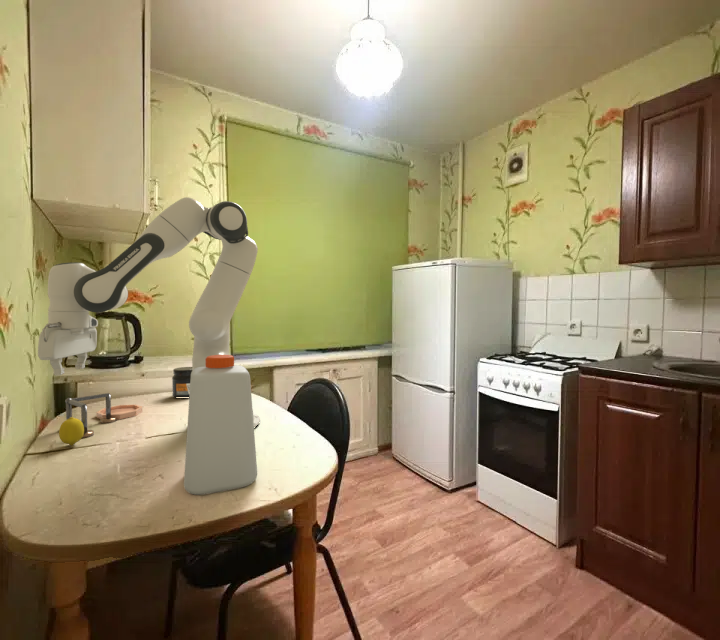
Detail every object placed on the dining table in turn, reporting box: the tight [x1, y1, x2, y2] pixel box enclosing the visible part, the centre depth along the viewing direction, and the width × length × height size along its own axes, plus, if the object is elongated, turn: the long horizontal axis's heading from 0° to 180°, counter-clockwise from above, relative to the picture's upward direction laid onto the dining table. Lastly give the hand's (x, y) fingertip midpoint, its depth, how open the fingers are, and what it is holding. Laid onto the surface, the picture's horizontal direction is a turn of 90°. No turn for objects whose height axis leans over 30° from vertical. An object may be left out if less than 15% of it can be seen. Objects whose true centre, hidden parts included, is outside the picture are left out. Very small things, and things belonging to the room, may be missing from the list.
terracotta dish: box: [95, 403, 143, 421], centre depth 133 cm, size 13×13×2 cm
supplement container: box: [171, 366, 192, 398], centre depth 160 cm, size 10×10×12 cm
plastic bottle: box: [183, 354, 258, 496], centre depth 85 cm, size 15×15×28 cm
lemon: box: [58, 416, 84, 447], centre depth 104 cm, size 6×6×8 cm
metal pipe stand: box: [64, 392, 117, 439], centre depth 118 cm, size 12×18×10 cm
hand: (70, 371), depth 103 cm, fingers open, 8 cm apart
